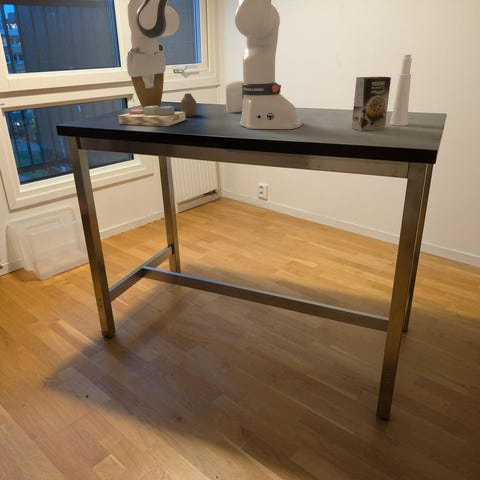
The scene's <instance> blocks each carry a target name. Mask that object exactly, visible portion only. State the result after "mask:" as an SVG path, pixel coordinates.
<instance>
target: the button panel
mask: <svg viewBox="0 0 480 480" xmlns="http://www.w3.org/2000/svg"><path fill="white" fill-rule="evenodd" d="M174 112H175V114H173V115H170V116H165V115H159V114H156V115H144V113H143V114H140V115H139V114H130V112H128V113H124V114H120V115H118V122H119V124H120V125H133V126H134V125H138V126H154V127H157V126H158V127H169V126H171V125H174V124H177V123H180V122H183V121H185V120H186V116H185V112H181V111H174Z"/></svg>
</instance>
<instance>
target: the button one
mask: <svg viewBox="0 0 480 480" xmlns="http://www.w3.org/2000/svg"><path fill="white" fill-rule="evenodd" d="M129 113H130V114H139V115H140V114H143V113H144V110H143V109H132V110H129Z"/></svg>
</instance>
